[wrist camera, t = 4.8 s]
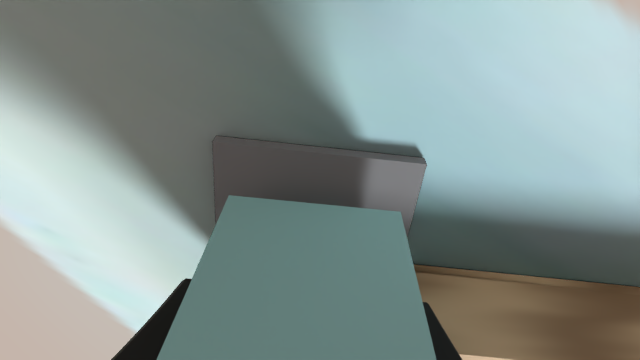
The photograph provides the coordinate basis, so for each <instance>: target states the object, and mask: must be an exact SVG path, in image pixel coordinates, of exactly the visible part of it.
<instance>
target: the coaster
mask: <svg viewBox="0 0 640 360" xmlns="http://www.w3.org/2000/svg"><path fill="white" fill-rule="evenodd" d="M212 143H213V169H214V196H215V222H216V223H217V221H218V219H219V216H220V214H221V212H222V210H223V207H224V205H225V203H226V201H227V198H228V196H229V195H232V196H243V197H253V198H263V199H274V200H284V201H294V202H305V203H315V204H325V205H336V206H346V207H356V208H367V209H377V210H387V211H398V212H401V215H402V219H403V223H404V228H405V232H406V236H407V237H408V233H409V229H410V226H411V222H412V218H413V214H414V211H415V207H416V203H417V199H418V196H419V192H420V188H421V184H422V181H423V177H424V173H425V169H426V166H427V164H426V161H425V159H424V158H420V157H411V156H401V155H392V154H383V153H373V152H364V151H354V150H345V149H335V148H326V147H317V146H307V145H298V144H288V143H279V142H269V141H260V140H251V139H241V138H232V137H222V136H216V137H215V138H214V140H213V142H212Z"/></svg>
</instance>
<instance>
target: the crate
mask: <svg viewBox="0 0 640 360" xmlns="http://www.w3.org/2000/svg"><path fill="white" fill-rule="evenodd" d="M413 265H414V269H415V273H416V277H417V281H418V285H419V290H420V294H421V298H422V302H427V303H428V304H429V305H430V307H431V308H432V310H433V312H434V313H435V315H436V317H437V319H438V320H439V322H440V324H441V325H442V327H443V329H444V330H445V332H446V334H447V335H448V337H449V339H450V340H451V342H452V344H453V345H454V347H455V348H456V350H457V352H458V353H459V355H460V357H461V358H462V360H640V287H634V286H624V285H614V284H604V283H594V282H584V281H574V280H564V279H554V278H544V277H534V276H524V275H514V274H504V273H494V272H484V271H474V270H464V269H454V268H445V267H435V266H425V265H415V264H413Z"/></svg>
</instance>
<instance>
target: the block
mask: <svg viewBox="0 0 640 360" xmlns="http://www.w3.org/2000/svg"><path fill="white" fill-rule="evenodd" d="M157 360H436V356H435V352H434V347H433V343H432V339H431V335H430V331H429V327H428V323H427V318H426V314H425V310H424V306H423V302H422V298H421V294H420V290H419V285H418V281H417V277H416V273H415V269H414V265H413V261H412V257H411V252H410V248H409V244H408V240H407V236H406V232H405V228H404V223H403V219H402V215H401V212H398V211H387V210H377V209H367V208H356V207H346V206H336V205H325V204H315V203H305V202H294V201H284V200H274V199H263V198H253V197H243V196H232V195H229V196H228V198H227V201H226V203H225V205H224V207H223V210H222V212H221V214H220V216H219V219H218V221H217V223H216V226H215V228H214V230H213V232H212V235H211V237H210V239H209V241H208V244H207V246H206V248H205V251H204V253H203V255H202V257H201V260H200V262H199V264H198V266H197V269H196V271H195V273H194V276H193V278H192V280H191V282H190V285H189V287H188V289H187V292H186V294H185V296H184V298H183V301H182V303H181V305H180V307H179V310H178V312H177V314H176V317H175V319H174V321H173V323H172V326H171V328H170V330H169V332H168V335H167V337H166V339H165V342H164V344H163V346H162V348H161V351H160V353H159V355H158V357H157Z"/></svg>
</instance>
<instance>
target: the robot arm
mask: <svg viewBox="0 0 640 360" xmlns="http://www.w3.org/2000/svg"><path fill="white" fill-rule="evenodd" d="M191 280H192V279H185V280H183V281H182V282H181V283H180V284H179V285H178V286H177V288H176V289H175V290H174V291H173V293H172V294H171V295H170V296H169V297H168V298H167V300H166V301H165V302H164V303H163V304H162V305H161V307H160V308H159V309H158V310H157V311H156V312H155V313H154V314H153V316H152V317H151V318H150V319H149V320H148V321H147V322H146V323H145V325H144V326H143V327H142V328H141V329H140V330H139V331H138V332H137V333H136V334H135V335H134V336H133V337H132V338H131V339H130V341H129V342H128V343H127V344H126V345H125V346H124V347H123V348H122V349H121V350H120V351H119V352H118V353H117V354H116V355H115V356H114V357H113V358H112V359H111V360H157V357H158V355H159V353H160V351H161V348H162V346H163V344H164V342H165V339H166V337H167V335H168V332H169V330H170V328H171V326H172V323H173V321H174V319H175V317H176V314H177V312H178V310H179V307H180V305H181V303H182V301H183V298H184V296H185V294H186V292H187V289H188V287H189V285H190V282H191ZM423 306H424V310H425V314H426V318H427V323H428V327H429V331H430V335H431V339H432V343H433V347H434V352H435V356H436V360H462V358H461V357H460V355H459V353H458V352H457V350H456V348H455V347H454V345H453V344H452V342H451V340H450V339H449V337H448V335H447V334H446V332H445V330H444V329H443V327H442V325H441V324H440V322H439V320H438V319H437V317H436V315H435V313H434V312H433V310H432V308H431V307H430V305H429V304H428V303H427V302H423Z"/></svg>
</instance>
